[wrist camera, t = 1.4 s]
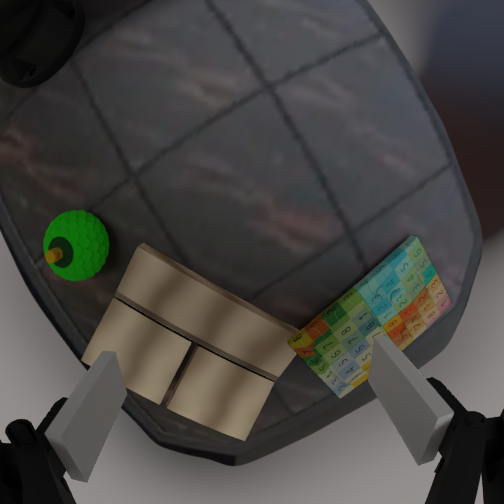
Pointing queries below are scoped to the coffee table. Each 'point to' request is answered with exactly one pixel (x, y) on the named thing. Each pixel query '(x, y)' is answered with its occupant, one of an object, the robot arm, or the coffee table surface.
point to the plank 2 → (219, 394)
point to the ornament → (76, 245)
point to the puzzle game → (373, 317)
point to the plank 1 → (138, 350)
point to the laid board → (206, 313)
